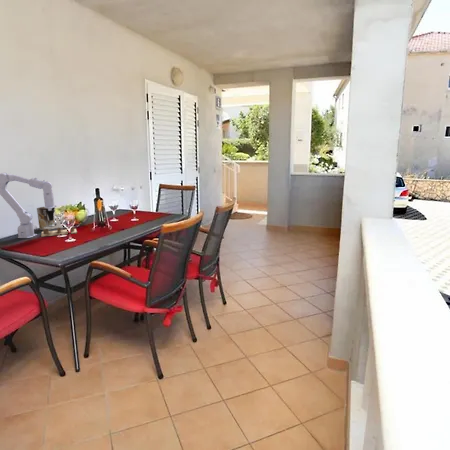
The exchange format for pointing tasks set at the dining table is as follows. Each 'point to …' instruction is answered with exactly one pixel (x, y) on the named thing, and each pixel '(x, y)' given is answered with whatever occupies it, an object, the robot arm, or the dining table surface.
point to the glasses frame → (54, 225)
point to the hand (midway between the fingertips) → (51, 219)
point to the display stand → (56, 232)
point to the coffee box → (44, 218)
